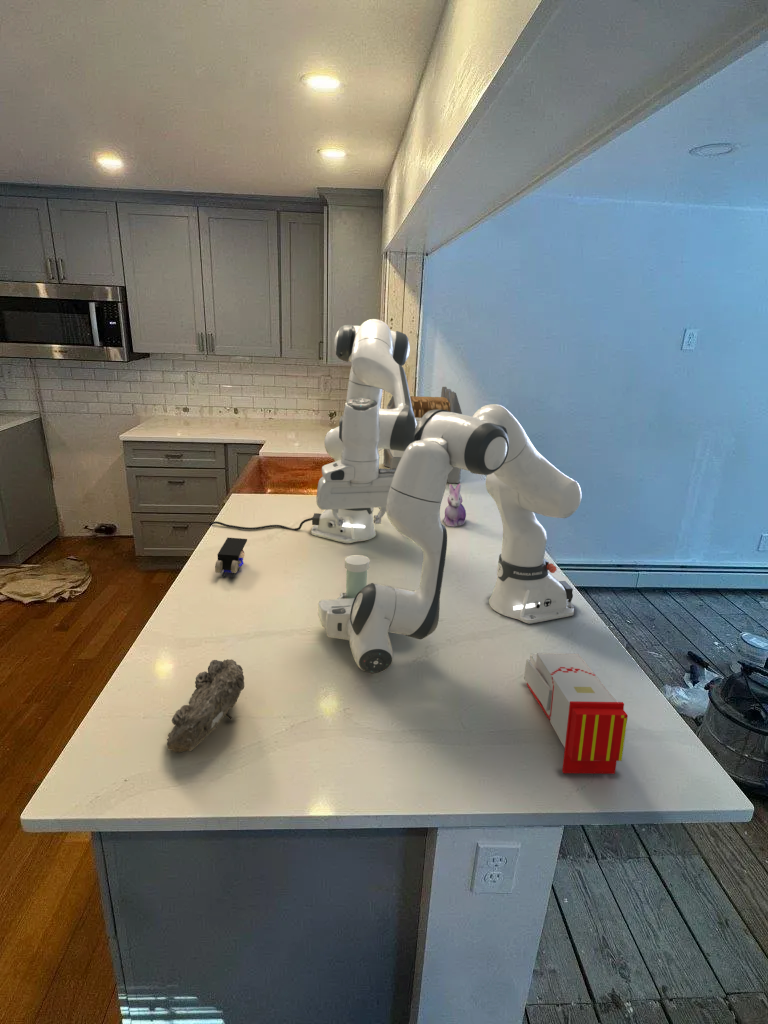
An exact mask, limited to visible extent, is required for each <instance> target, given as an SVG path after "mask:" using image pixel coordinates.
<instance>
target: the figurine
mask: <svg viewBox="0 0 768 1024" xmlns="http://www.w3.org/2000/svg"><path fill="white" fill-rule="evenodd" d="M461 487H462V485H461V483H457V485H456V486H455V487H454V486H453V485H452V483H449V485H448V491H449V494H448V496H447V503H448V505H447V506H446V507H445V509H444V518H443V524H445V525H446V526H447V527H453V528H455V527H460V526H463V525H464V524H465V522H466V519H467V512H466V509H465V506H464V505H463V504H462V503H463V497H462V495H461Z"/></svg>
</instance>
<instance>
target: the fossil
mask: <svg viewBox="0 0 768 1024" xmlns="http://www.w3.org/2000/svg"><path fill="white" fill-rule="evenodd" d="M243 670H244V669H243V667H242V665H240V664H237V662H236V661H235V660H234V659H232V658H231V659H227V658H226V659H224V660H223V661H222V660H217V659H212V660H211V661H210V663H209V665H208V666H207V671H201V672H199V673H198V674H197V675H196V676H195V680H194V684H195V685H194V687H195V689H194V690H193V693H192V694H191V697H190V698H189V700H188V704H184V705H182V706H181V707H180V709H177V710H176V711H175V713H174V715H173V716H172V718H171V723H172V724H173V727H172V730H171V731H170V732H168V734H167V738H166V741H167V742H166V745H167V749H168V750H169V751H173V752H174V753H176V754H178V753H182V752H188V751H189V752H192V751H193V750H195V748H196V747H197V746H199V744H200V743H201V742H203V741H204V740H205V739H206V738H207V737H208V736H209V735H210V734H211V733H212V732H214V730H215V729H217V727H218V726H219V724H220V722H221V721H222V720H223V719H224V718H225V716H226V717H227V719H229V720H233V717H232V715H230V714H229V710H230V709H231V708H234V706H235V704H236V703H237V702H238V699H239V697H240V695H241V693H242V691H243V690H245V689H244V688H245V675H244V671H243Z"/></svg>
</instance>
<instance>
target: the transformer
mask: <svg viewBox="0 0 768 1024" xmlns="http://www.w3.org/2000/svg"><path fill="white" fill-rule="evenodd" d="M440 393H441V394H440V396H415V395H414V396H413V395H412V396H411V395H410V399H411V404H412V409H413V412H414V416H415V419H416V422H417V424H418V422H419V420H420V419H421V418H422V416H423V415H424V414H425V413H427V412H428V411H430V410H447V411H449V412H453V413H459V414H463V411H462V408H461V405H460V402H459V398H458V395H457V392H455V391H453V390H452V389H451V388H447V386H442V387H441V392H440ZM386 409H395V403H394V397H393V396H392V395H391V398H390V400H389V402H388V404H387V405H386ZM404 452H405V451H397V450H391V449H383V466H384V467H386V468H387V467H388V468H389V469H391V468H396V469H397V466H398V464H399V462H400V460H401V458H402V456H403V454H404ZM452 467H453V469H452V470H451V471H450V473H449V474H448V478H447V483H449V484H455V483H456V484H460V483H461V472H462V469H460V468H457V467H454V466H452Z"/></svg>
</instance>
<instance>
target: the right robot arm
mask: <svg viewBox="0 0 768 1024" xmlns="http://www.w3.org/2000/svg"><path fill="white" fill-rule="evenodd" d="M520 423H521V422H519V421H518V419H517V418H516V417H515V416H514V415H513V414H512V413H511V412H510V410H508V409H507V408H506V407H505V406H503V405H501V404H496V403H490V404H486V405H483V406H481V407H480V408H478V409H477V410H476V411H475V412H474V413H473V415H472V416H471V415H468V414H463V413H462V414H459V413H453V412H449V411H447V410H430V411H428V412H427V413H425V414H424V415H423V416H422V418H421V419H420V420H419V422H418V424H417V426H416V429H415V432H414V438H413V442H412V443H411V444H409V445H408V447H407V448H406V450H405V452H404V454H403V456H402V458H401V460H400V462H399V464H398V466H397V469H396V471H395V474H394V477H393V480H392V483H391V486H390V489H389V493H388V497H387V502H386V512H385V514H386V517H387V518H388V521H389V522H390V524H391V525H392V527H394V529H395V530H396V531H398V532H399V533H400V534H401V535H402V536H404V537H405V538H406V539H408V540H410V541H411V542H413V543H414V544H416V545H417V546H418V547H419V548H420V549H421V550H422V555H423V558H422V565H421V572H420V581H419V587H418V588H417V589H415V590H409V589H406V588H405V589H404V588H399V587H393V586H391V585H386V584H380V583H375V582H371V583H367V586H365V587H364V588H363V589H362V590H360V591H359V592H358V593H357V595H356V596H355V598H348V599H346V598H347V595H346V592H340V593H339V597H338V598H331V599H321V600H319V601H318V602H317V617H318V619H319V622H320V624H321V626H322V627H323V628H324V629H325V631H326V636H327V637H328V638H332V639H340V640H344V641H348V642H349V647H350V652H351V655H352V658H353V659H354V662H355V664H356V666H357V667H358V668H359V669H360V670H361V671H362V672H366V673H369V674H379V673H382V672H384V671H386V670H387V669H389V668H390V667H391V666H392V664H393V661H394V653H393V648H392V647H393V646H392V641H391V638H390V635H389V633H393V634H398V635H402V636H403V635H404V636H406V637H410V638H413V639H416V640H424V639H425V638H427V637H428V636H430V635H431V634H432V633H433V632H435V631H436V630H437V627H438V626H439V625H438V624H439V620H440V607H441V606H440V605H441V604H440V603H441V592H442V585H443V584H442V583H443V579H444V572H445V571H444V570H445V566H446V558H447V549H448V548H447V547H448V531H447V527H446V526H445V525H444V523H442V521H441V506H442V503H443V498H444V496H445V491H446V487H447V483H448V482H447V478H448V474H449V473H450V471H451V470H452V469H453V467H452V466H454V467H457V468H460V469H461V470H463V471H469V472H470V473H472V474H475V475H480V476H481V475H482V476H486V477H485V487H486V492H487V493H488V495H490V496H491V498H492V499H493V501H494V502H495V504H496V507H497V509H498V511H499V515H500V519H501V525H502V539H501V540H502V543H501V551H500V553H499V556H498V562H497V568H496V581H495V585H494V588H493V591H492V594H491V596H490V598H489V600H488V604H489V606H490V608H491V609H492V610H493V611H494V612H496V613H498V614H499V615H502V616H505V617H508V618H510V619H511V618H512V619H516V620H518V621H520V622H523V623H524V624H529V625H531V624H537V623H543V622H546V621H552V620H556V619H557V620H558V619H562V618H567V617H571V616H574V615H575V608H574V605H573V604H572V603H571V602H572V600H573V597H574V594H573V591H574V589H573V587H572V586H571V585H570V584H569V583H568V582H567V581H566V580H558V579H557V578H556V577H554V575H552V574H554V573H556V572H557V570H558V568H557V566H556V565H554V563H550V562H549V560H548V559H546V558H545V555H546V554H545V553H546V547H547V541H548V534H547V531H546V529H545V527H544V526H543V525H542V524H541V522H540V521H539V520H538V519H537V517H536V515H541V516H543V517H548V518H553V519H554V518H555V519H567V518H570V517H571V516H572V515H574V514H575V513H576V512H577V511H578V509H579V507H580V505H581V502H582V496H583V495H582V494H583V493H582V488H581V486H580V484H579V483H578V481H577V480H575V479H573V478H571V477H569V476H568V475H566V474H565V473H563V472H562V471H560V470H559V468H557V467H555V465H553V464H552V463H551V462H550V461H549V460H547V459H546V458H545V457H544V456H543V455H542V454H541V453H540V452H539V451H538V450H537V449H536V447H535V446H534V444H533V442H532V441H531V440H530V438H529V436H528V434H527V432H526V431H525V429H524V428H523V426H522V425H521V424H520Z"/></svg>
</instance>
